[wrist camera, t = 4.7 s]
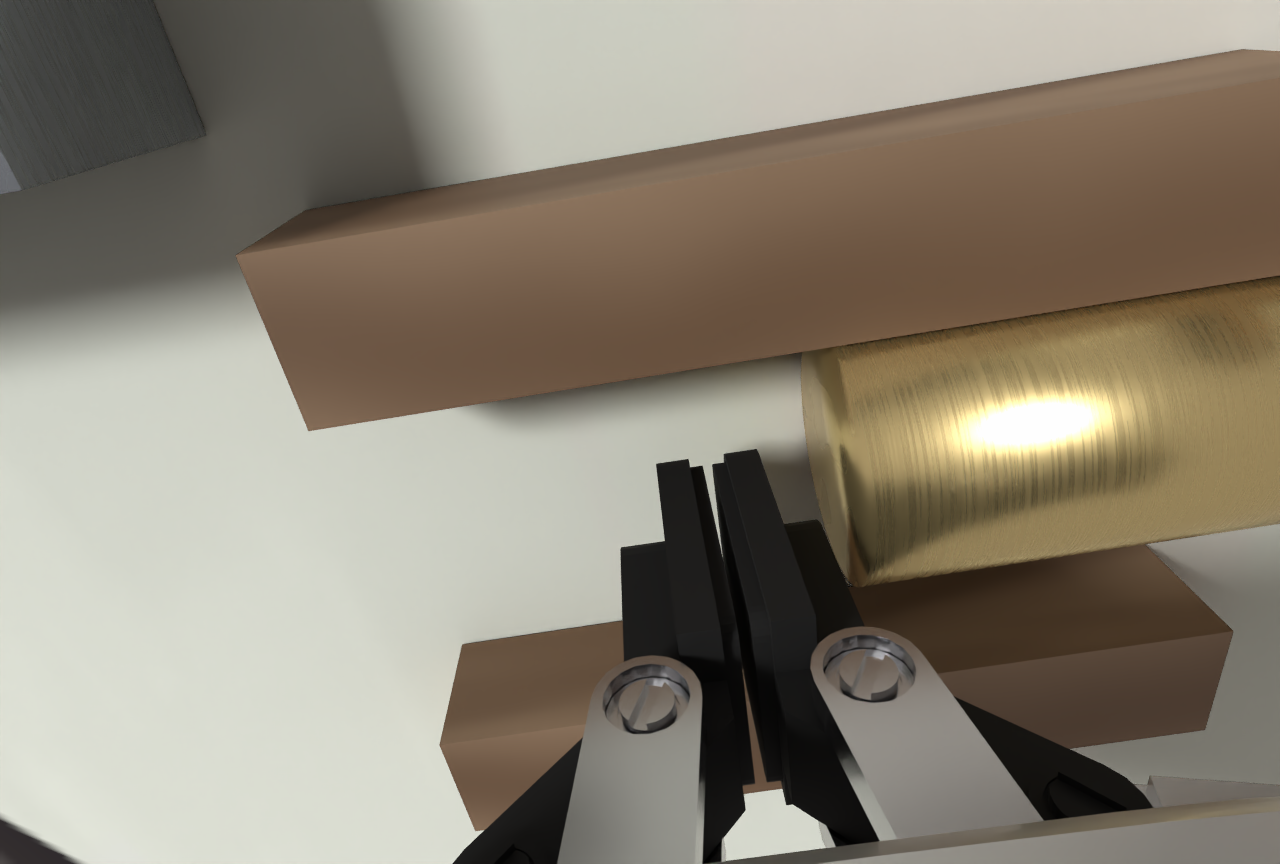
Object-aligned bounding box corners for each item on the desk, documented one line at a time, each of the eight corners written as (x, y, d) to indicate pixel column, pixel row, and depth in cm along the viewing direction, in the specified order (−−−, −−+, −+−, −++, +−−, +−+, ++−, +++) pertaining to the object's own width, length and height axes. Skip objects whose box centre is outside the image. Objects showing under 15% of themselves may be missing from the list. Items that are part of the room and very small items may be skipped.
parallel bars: (304, 210, 12) (235, 255, 9) (1242, 49, 11) (1400, 57, 9) (491, 726, 17) (475, 830, 15) (1125, 635, 17) (1205, 729, 14)
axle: (827, 567, 14) (890, 610, 10) (790, 347, 14) (837, 301, 10) (1520, 462, 13) (1886, 462, 9) (1472, 236, 13) (1811, 140, 9)
